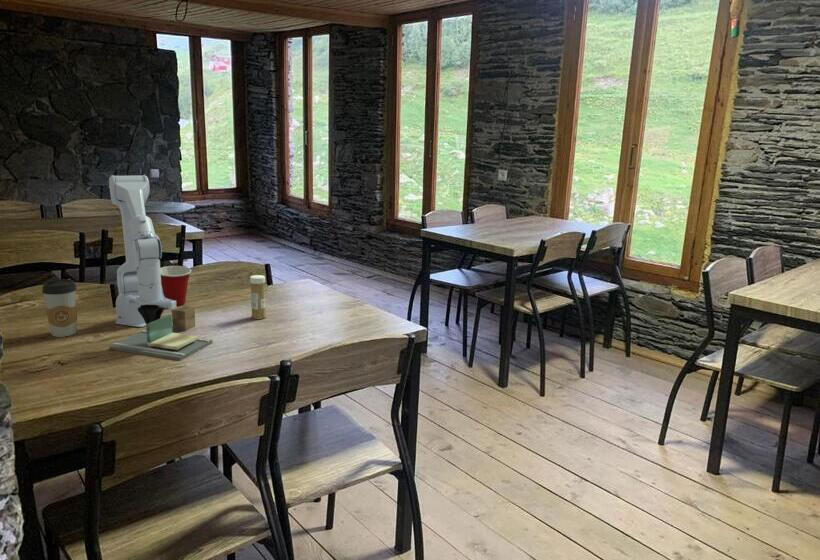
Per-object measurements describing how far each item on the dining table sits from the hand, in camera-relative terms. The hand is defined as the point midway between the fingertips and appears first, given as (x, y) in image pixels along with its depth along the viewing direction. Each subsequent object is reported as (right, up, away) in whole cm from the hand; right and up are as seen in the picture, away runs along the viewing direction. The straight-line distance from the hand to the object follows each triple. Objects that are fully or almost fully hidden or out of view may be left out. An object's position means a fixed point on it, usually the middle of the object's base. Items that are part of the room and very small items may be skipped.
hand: (153, 331), depth 165 cm
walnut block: (+3, 0, +15) cm, 16 cm away
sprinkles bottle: (+22, +2, +27) cm, 35 cm away
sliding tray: (+6, -4, -1) cm, 7 cm away
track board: (+2, -4, 0) cm, 5 cm away
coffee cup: (-28, -2, +7) cm, 29 cm away
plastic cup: (-8, +6, +38) cm, 39 cm away
